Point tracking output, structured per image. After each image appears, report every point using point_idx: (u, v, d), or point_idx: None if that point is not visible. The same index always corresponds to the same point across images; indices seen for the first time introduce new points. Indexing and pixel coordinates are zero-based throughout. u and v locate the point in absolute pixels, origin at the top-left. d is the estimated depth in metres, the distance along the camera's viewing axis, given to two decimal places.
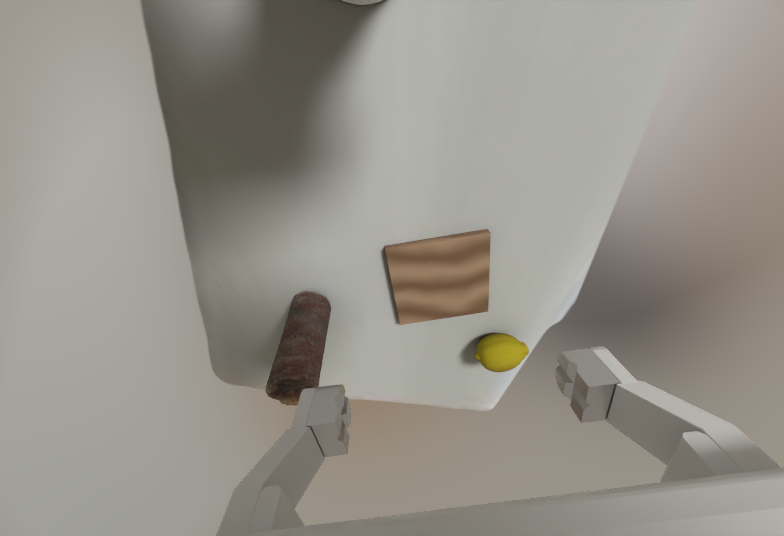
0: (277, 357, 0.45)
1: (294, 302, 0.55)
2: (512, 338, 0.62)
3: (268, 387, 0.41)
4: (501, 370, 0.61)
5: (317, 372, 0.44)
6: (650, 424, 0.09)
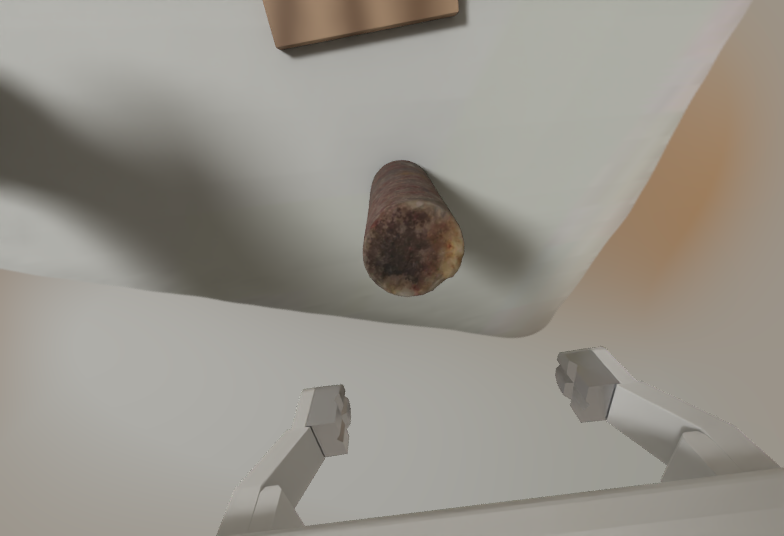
0: None
1: None
2: None
3: (390, 291, 0.22)
4: None
5: (400, 195, 0.21)
6: (650, 424, 0.09)
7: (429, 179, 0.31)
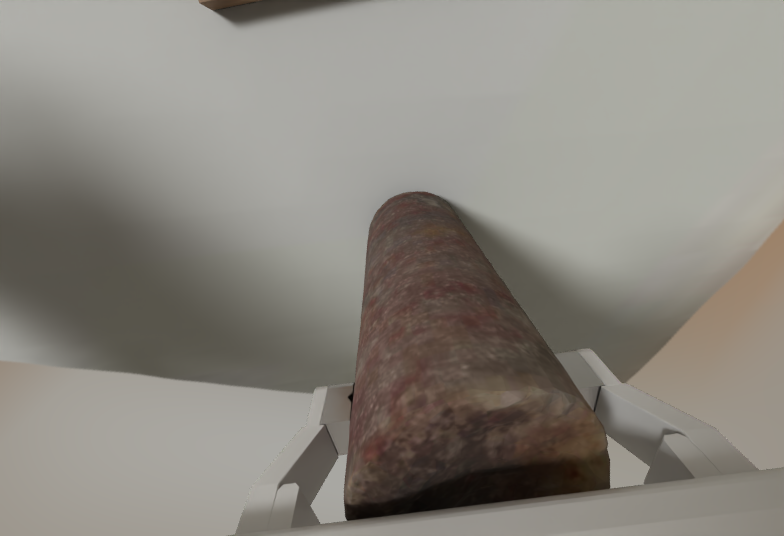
0: None
1: None
2: None
3: None
4: None
5: (441, 333, 0.08)
6: (633, 426, 0.09)
7: (467, 230, 0.18)
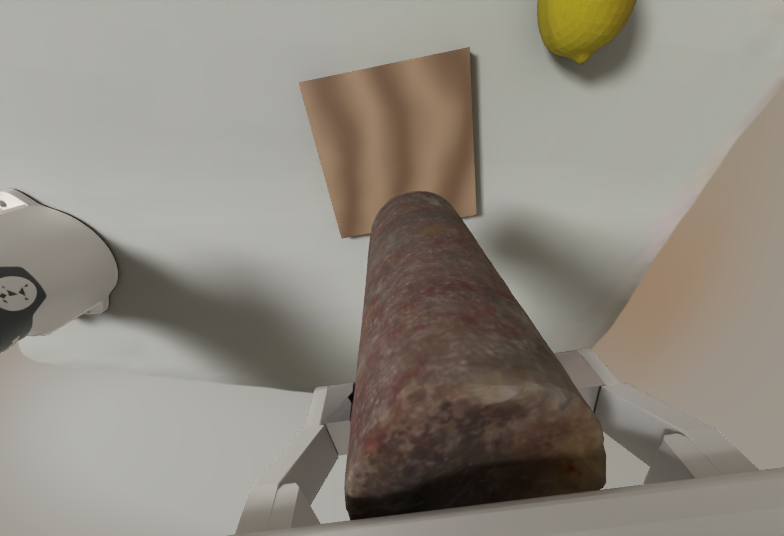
0: None
1: None
2: None
3: None
4: None
5: (441, 329, 0.08)
6: (634, 426, 0.09)
7: (468, 230, 0.18)
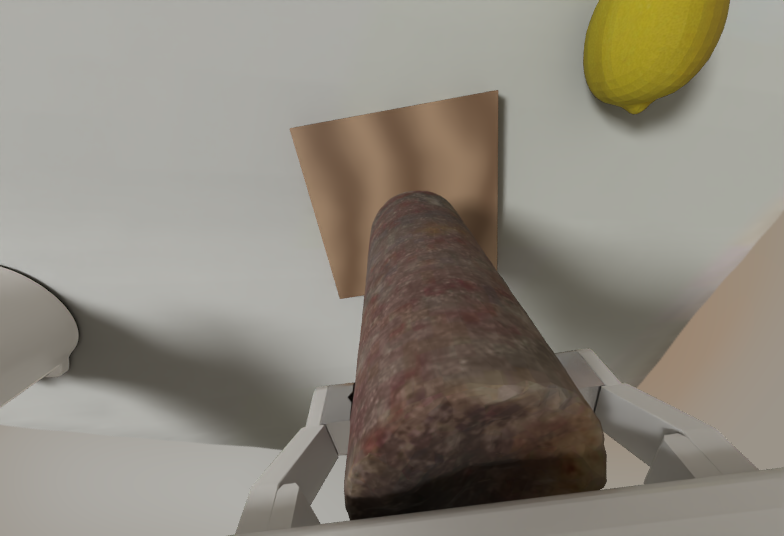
0: None
1: None
2: None
3: None
4: (708, 34, 0.19)
5: (440, 329, 0.08)
6: (634, 426, 0.09)
7: (468, 229, 0.18)
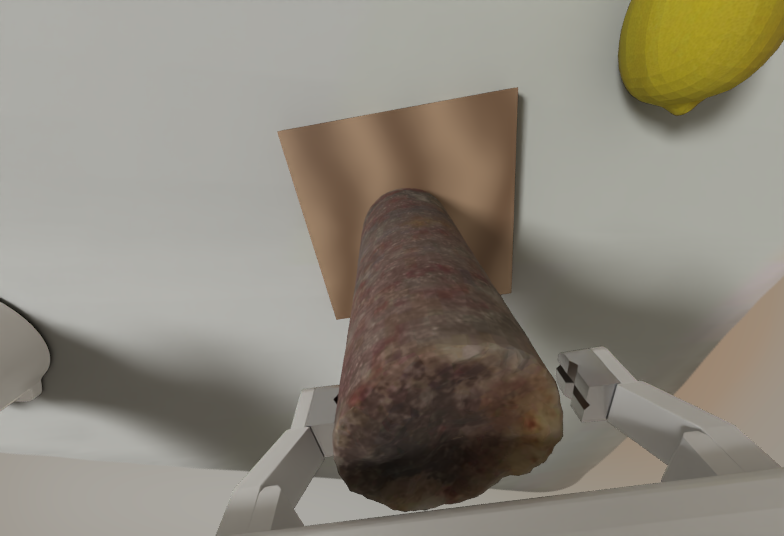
0: None
1: None
2: None
3: (395, 508, 0.10)
4: None
5: (418, 304, 0.10)
6: (650, 424, 0.09)
7: None
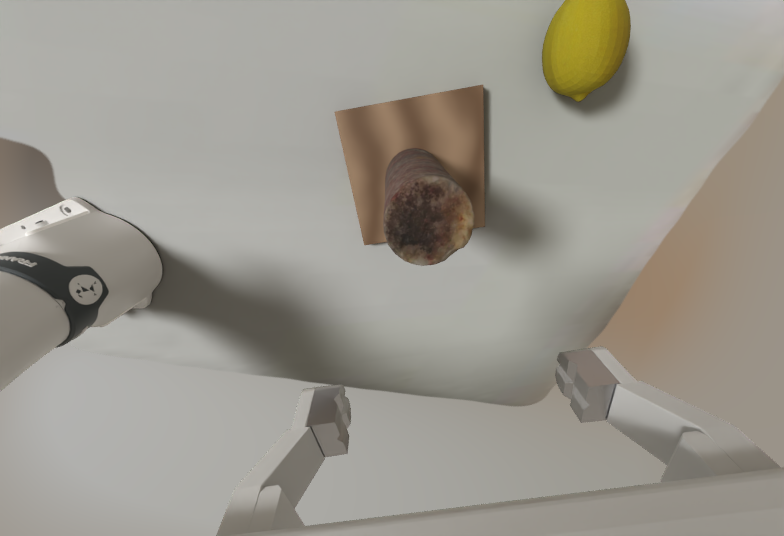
0: None
1: None
2: (553, 20, 0.31)
3: (406, 259, 0.24)
4: (615, 47, 0.29)
5: (417, 173, 0.23)
6: (650, 424, 0.09)
7: None
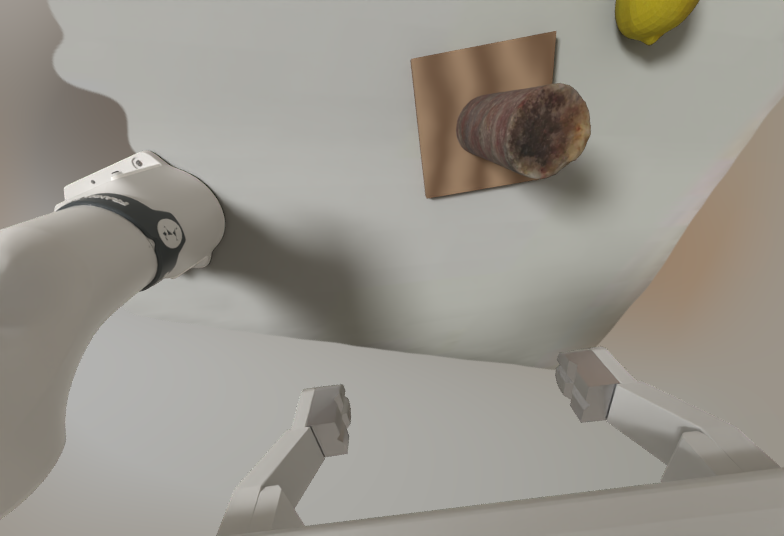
0: (496, 159, 0.29)
1: (464, 146, 0.40)
2: None
3: (523, 171, 0.25)
4: None
5: (534, 87, 0.25)
6: (650, 424, 0.09)
7: None
